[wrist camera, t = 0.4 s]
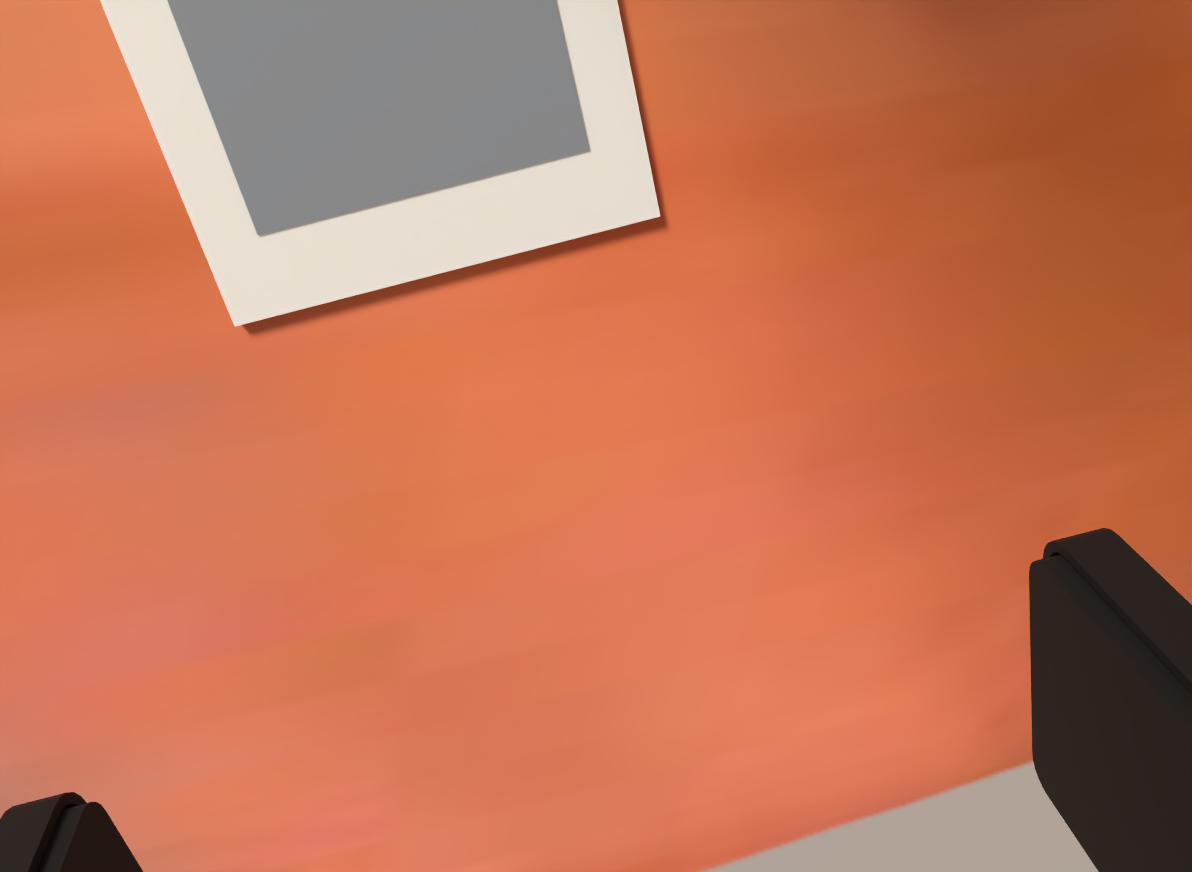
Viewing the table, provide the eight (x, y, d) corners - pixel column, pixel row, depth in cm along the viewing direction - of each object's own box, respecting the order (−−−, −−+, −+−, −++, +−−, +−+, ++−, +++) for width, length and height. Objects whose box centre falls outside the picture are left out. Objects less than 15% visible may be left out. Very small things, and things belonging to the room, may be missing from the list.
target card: (6, -243, 31) (-3, -246, 30) (539, -377, 31) (541, -382, 31) (237, 320, 39) (234, 327, 39) (657, 212, 40) (660, 217, 39)
